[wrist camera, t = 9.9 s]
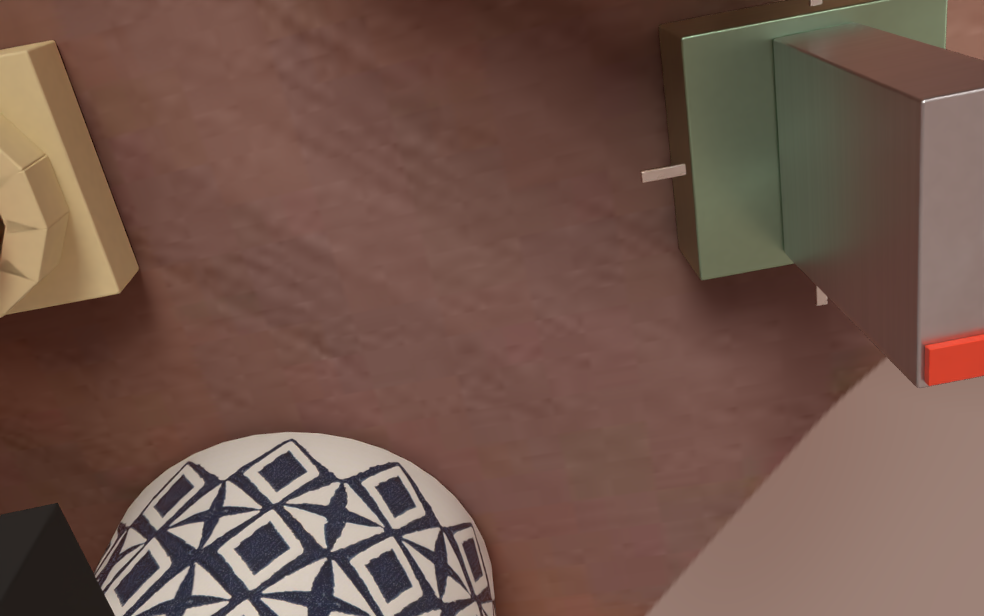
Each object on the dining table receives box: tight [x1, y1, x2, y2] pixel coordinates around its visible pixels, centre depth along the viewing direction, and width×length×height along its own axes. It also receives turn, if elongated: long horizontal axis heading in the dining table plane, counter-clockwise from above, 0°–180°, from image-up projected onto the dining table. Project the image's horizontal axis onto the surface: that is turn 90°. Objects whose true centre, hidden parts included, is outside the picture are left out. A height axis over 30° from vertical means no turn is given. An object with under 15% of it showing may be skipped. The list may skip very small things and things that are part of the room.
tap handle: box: [773, 22, 984, 388], centre depth 24 cm, size 7×2×9 cm, turn 11°
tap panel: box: [640, 0, 947, 306], centre depth 29 cm, size 11×11×3 cm
